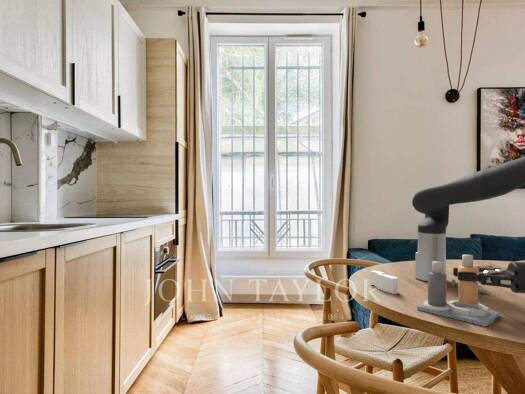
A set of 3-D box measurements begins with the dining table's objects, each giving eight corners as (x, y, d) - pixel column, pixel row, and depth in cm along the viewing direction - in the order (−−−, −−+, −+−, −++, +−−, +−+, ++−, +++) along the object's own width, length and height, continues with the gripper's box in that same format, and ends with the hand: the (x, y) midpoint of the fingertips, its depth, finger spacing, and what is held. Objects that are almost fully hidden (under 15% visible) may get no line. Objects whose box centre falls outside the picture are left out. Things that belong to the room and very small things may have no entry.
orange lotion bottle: (455, 301, 87) (455, 255, 87) (461, 298, 90) (461, 253, 90) (475, 305, 84) (474, 257, 84) (480, 301, 86) (479, 255, 87)
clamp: (487, 291, 101) (449, 286, 107) (487, 298, 101) (449, 293, 107) (485, 281, 114) (451, 277, 119) (485, 287, 114) (451, 283, 119)
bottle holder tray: (416, 310, 90) (416, 261, 90) (433, 301, 97) (433, 256, 97) (486, 327, 78) (486, 271, 78) (499, 316, 85) (499, 264, 85)
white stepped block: (406, 298, 102) (406, 279, 102) (367, 295, 105) (367, 276, 105) (398, 285, 117) (399, 269, 117) (364, 283, 120) (365, 267, 120)
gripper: (521, 258, 89) (449, 255, 94) (548, 268, 75) (462, 264, 81) (522, 286, 89) (449, 281, 94) (549, 302, 75) (462, 295, 81)
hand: (455, 273), depth 87 cm, fingers closed on orange lotion bottle, 4 cm apart
